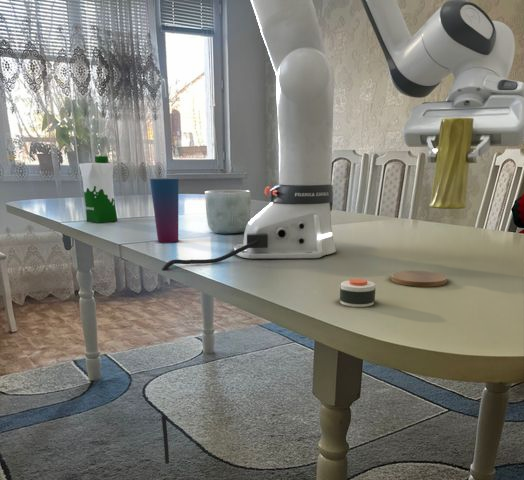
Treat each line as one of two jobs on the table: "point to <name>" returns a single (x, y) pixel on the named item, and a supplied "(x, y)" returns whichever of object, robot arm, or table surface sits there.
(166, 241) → the cup
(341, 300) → the sushi
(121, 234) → the table surface
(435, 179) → the vase
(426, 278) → the coaster
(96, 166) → the milk carton
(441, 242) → the table surface
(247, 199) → the planter
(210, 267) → the table surface
